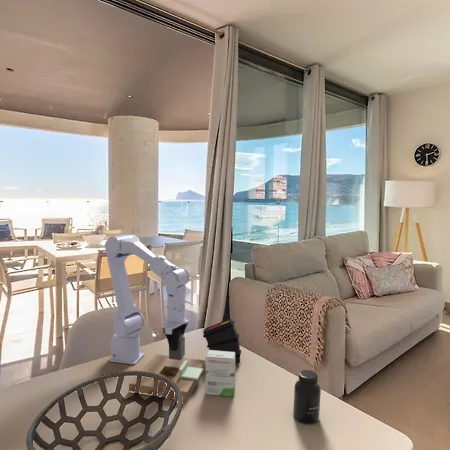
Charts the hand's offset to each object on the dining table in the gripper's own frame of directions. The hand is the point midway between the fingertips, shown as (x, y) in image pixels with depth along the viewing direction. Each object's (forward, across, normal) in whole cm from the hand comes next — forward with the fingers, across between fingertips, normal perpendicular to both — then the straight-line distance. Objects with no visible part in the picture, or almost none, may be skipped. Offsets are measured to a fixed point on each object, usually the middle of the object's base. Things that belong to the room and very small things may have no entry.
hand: (175, 347), depth 113 cm
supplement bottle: (+10, -12, -41) cm, 44 cm away
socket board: (+9, -4, +1) cm, 10 cm away
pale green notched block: (+6, -4, -6) cm, 10 cm away
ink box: (+10, -6, -16) cm, 20 cm away
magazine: (+10, +13, -12) cm, 20 cm away
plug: (+3, 0, 0) cm, 3 cm away
